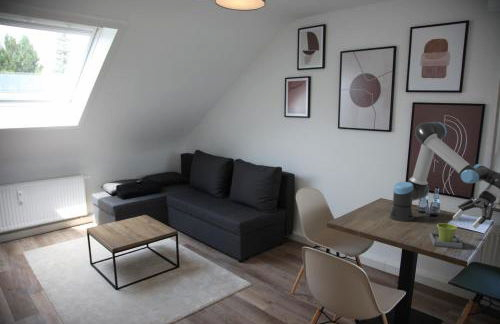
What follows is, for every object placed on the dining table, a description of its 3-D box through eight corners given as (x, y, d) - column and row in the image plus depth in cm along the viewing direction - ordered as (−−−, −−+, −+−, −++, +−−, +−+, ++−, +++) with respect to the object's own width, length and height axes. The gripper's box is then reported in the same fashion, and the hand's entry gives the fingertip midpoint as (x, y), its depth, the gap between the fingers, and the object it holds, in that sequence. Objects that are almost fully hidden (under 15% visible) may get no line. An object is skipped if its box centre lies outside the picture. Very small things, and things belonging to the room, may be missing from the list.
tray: (433, 245, 184) (434, 241, 183) (429, 236, 196) (430, 232, 196) (462, 248, 180) (462, 244, 179) (456, 239, 192) (456, 235, 191)
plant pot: (432, 238, 192) (433, 223, 191) (447, 237, 193) (449, 222, 191) (442, 245, 183) (444, 229, 181) (459, 244, 184) (460, 228, 182)
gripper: (514, 205, 178) (486, 235, 177) (475, 193, 202) (450, 219, 202) (507, 196, 176) (479, 226, 175) (468, 185, 200) (443, 211, 200)
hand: (463, 222), depth 188 cm, fingers open, 13 cm apart
